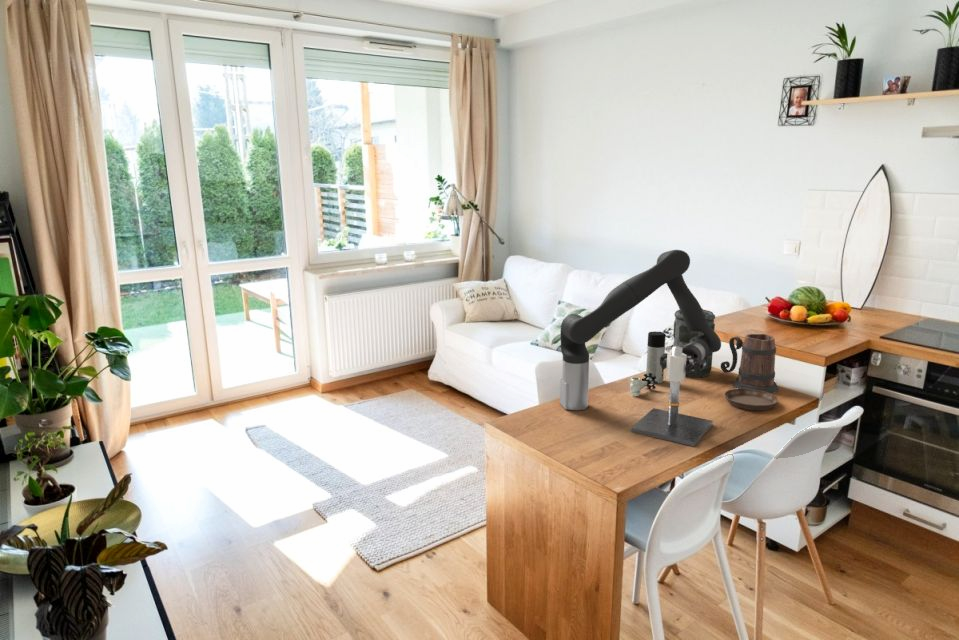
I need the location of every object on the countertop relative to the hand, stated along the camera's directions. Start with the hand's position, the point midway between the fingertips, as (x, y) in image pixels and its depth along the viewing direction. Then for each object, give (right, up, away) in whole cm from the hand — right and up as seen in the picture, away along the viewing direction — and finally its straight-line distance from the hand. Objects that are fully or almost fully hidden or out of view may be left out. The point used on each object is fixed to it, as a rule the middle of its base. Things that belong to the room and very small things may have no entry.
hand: (674, 367), depth 192 cm
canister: (+26, -7, +61) cm, 67 cm away
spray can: (+8, -10, +51) cm, 53 cm away
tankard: (+44, -10, +47) cm, 65 cm away
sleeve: (+1, -4, +2) cm, 4 cm away
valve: (0, -13, +39) cm, 41 cm away
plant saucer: (+36, -15, +27) cm, 47 cm away
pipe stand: (+1, -20, +6) cm, 21 cm away
